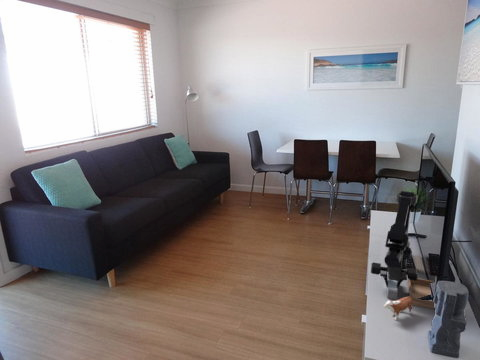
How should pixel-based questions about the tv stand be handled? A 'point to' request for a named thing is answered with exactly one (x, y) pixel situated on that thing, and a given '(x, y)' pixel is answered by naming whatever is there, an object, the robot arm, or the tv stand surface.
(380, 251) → the tv stand surface
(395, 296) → the long pale blue block
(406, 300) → the bull figurine
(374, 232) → the tv stand surface
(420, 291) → the open brown box
